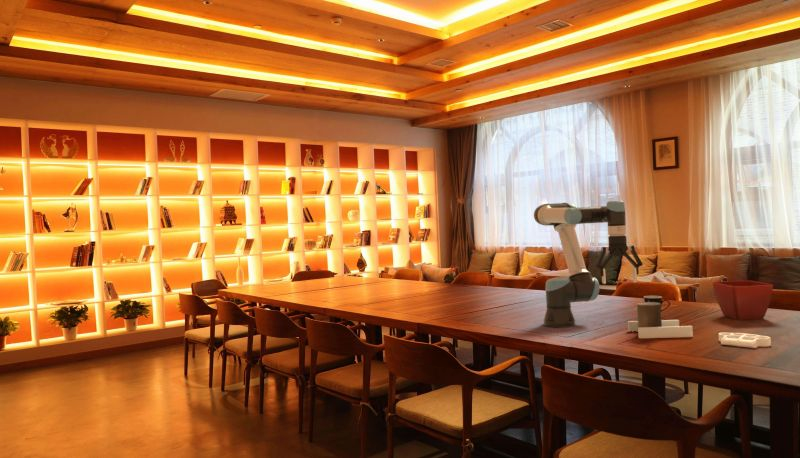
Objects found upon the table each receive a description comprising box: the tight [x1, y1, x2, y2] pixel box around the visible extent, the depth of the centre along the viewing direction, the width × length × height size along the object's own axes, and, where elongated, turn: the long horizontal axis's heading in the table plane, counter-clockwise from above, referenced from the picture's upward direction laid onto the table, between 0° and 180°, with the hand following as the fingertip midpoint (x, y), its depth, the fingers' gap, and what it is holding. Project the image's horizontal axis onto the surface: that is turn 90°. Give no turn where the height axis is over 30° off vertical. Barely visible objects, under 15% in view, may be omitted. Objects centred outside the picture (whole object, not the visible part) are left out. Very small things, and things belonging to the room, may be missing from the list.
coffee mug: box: [643, 295, 671, 313], centre depth 283 cm, size 12×9×10 cm
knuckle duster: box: [718, 332, 772, 349], centre depth 220 cm, size 3×18×15 cm
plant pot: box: [712, 280, 774, 321], centre depth 270 cm, size 19×19×17 cm
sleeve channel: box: [627, 319, 694, 339], centre depth 244 cm, size 22×15×4 cm
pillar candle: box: [636, 301, 662, 327], centre depth 244 cm, size 10×10×15 cm
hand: (619, 282), depth 247 cm, fingers open, 13 cm apart
